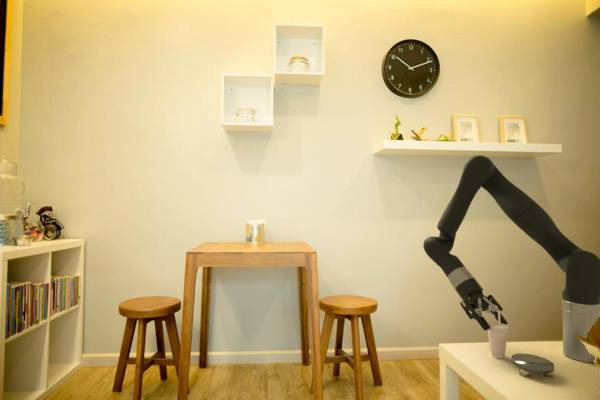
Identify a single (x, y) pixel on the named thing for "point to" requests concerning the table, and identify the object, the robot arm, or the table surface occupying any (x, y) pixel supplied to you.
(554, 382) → the table surface
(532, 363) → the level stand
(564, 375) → the table surface
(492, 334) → the smoothie
